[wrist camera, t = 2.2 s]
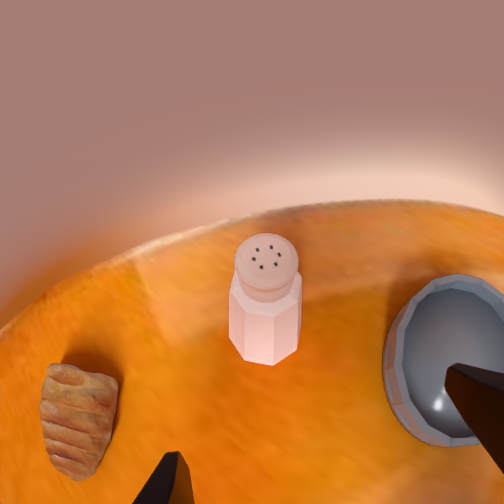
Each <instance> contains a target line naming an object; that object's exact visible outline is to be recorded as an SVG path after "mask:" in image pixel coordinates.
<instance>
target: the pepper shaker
mask: <svg viewBox="0 0 504 504" xmlns="http://www.w3.org/2000/svg"><path fill="white" fill-rule="evenodd" d="M298 264H299V259H298V253H297V251H296V249H295V247H294V246H293V245H292V244H291V242H290V241H288V240H287V239H285V238H284V237H282V236H279V235H277V234H271V233H260V234H257V235H253V236H251V237H249V238H248V239H246V240H245V241H244V242H243V243H241V244H240V246H239V247H238V249H237V251H236V254H235V257H234V265H235V272H234V275H233V279H232V283H231V287H230V293H229V338H230V340H231V341H232V343H233V344H234V346H235V347H236V349H237V350H238V352H239V353H240V355H241V356H242V358H243V359H244V360H245V361H250V362H255V363H261V364H266V365H271V366H273V365H275V364H276V363H278V362H279V361H281V360H282V359H284V358H285V357H287V356H288V355H290V354H291V353H293V352H294V351H296V350H297V345H298V339H299V334H300V327H301V313H302V276H301V275H300V274H299V272H298V271H297V269H298Z"/></svg>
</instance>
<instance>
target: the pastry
mask: <svg viewBox="0 0 504 504" xmlns="http://www.w3.org/2000/svg"><path fill="white" fill-rule="evenodd" d="M117 394H118V382H117V381H116V380H115V378H113V377H111V376H108V375H105V374H101V373H91V372H85V371H82V370H80V369H79V368H78V367H76V366H73V365H69V364H58V363H52V364H50V365H49V366H48V367H47V375H46V378H45V380H44V383H43V387H42V391H41V402H40V405H39V412H40V420H41V425H42V428H43V436H44V441H45V444H46V450H47V452H48V454H49V457H50V461H51V463H52V464H53V465H54V466H55V467H56V469H57V470H59V471H60V472H62V473H63V474H65V475H67V476H69V477H70V478H71V479H72V480H75V481H81V480H83V479H85V478H87V477H90V476H92V475H93V474H94V473H95V471H96V468H97V466H98V465H99V461H100V459H101V458H102V457H103V456H104V452H105V449H106V447H107V446H108V444H109V443H110V442H111V433H112V426H113V420H114V416H115V413H116V406H117Z"/></svg>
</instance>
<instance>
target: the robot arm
mask: <svg viewBox="0 0 504 504" xmlns="http://www.w3.org/2000/svg"><path fill="white" fill-rule="evenodd" d="M444 388H445V391H446V393H447V394H448V396H449V397H450V399H451V401H452V402H453V404H454V405H455V407H456V409H457V410H458V412H459V414H460V415H461V417H462V418H463V420H464V421H465V423H466V424H467V425H468V427H469V428H470V429H471V431H472V432H473V433H474V435H475V436H476V437H477V439H478V440H479V441H480V443H481V444H482V445H483V446H484V448H485V449H486V451H487V452H488V453H489V455H490V456H491V457H492V459H493V460H494V461H495V463H496V464H497V466H498V467H499V468H500V470H501V471H502V472H503V474H504V373H500V372H496V371H491V370H487V369H483V368H479V367H475V366H470V365H466V364H462V363H455V364H453V365H451V366H449V367H448V368H447V371H446V377H445V382H444ZM132 504H194V498H193V491H192V484H191V477H190V471H189V467H188V465H187V463H186V462H185V460H184V458H183V456H182V455H181V453H180V452H178V451H174V452H167V453H165V455H164V456H163V458H162V459H161V461H160V462H159V464H158V465H157V467H156V468H155V470H154V472H153V473H152V475H151V476H150V478H149V479H148V481H147V482H146V484H145V485H144V487H143V488H142V490H141V491H140V493H139V494H138V496H137V497H136V499H135V500H134V502H133V503H132Z"/></svg>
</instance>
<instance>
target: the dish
mask: <svg viewBox="0 0 504 504" xmlns="http://www.w3.org/2000/svg"><path fill="white" fill-rule="evenodd" d="M455 363H462V364H466V365H470V366H475V367H479V368H483V369H487V370H491V371H496V372H500V373H504V295H503V294H502V293H501V292H499V291H498V290H497V289H495V288H494V287H492V286H491V285H490V284H488V283H487V282H485V281H484V280H483V279H480V278H476V277H471V276H467V275H462V274H458V273H457V274H453V275H449V276H445V277H441V278H437V279H433V280H432V281H431V282H430V283H429V284H427V285H426V286H425V287H424V288H423V289H422V290H421V291H419V292H418V293H417V294H416V295H415V296H413V297H412V298H411V299H410V300H409V301H408V302H407V303H406V304H405V305H404V306H403V307H402V309H401V310H400V311H399V313H398V314H397V315H396V317H395V319H394V321H393V322H392V324H391V327H390V329H389V331H388V334H387V337H386V340H385V344H384V350H383V356H382V378H383V384H384V390H385V393H386V397H387V400H388V403H389V405H390V407H391V410H392V412H393V413H394V415H395V417H396V418H397V420H398V421H399V423H400V424H401V425H402V426H403V427H404V429H405V430H406V431H408V432H409V433H410V434H411V435H412V436H414V437H415V438H417V439H418V440H420V441H422V442H424V443H427V444H429V445H433V446H438V447H458V446H467V445H478V444H480V441H479V440H478V439H477V437H476V436H475V435H474V433H473V432H472V431H471V429H470V428H469V427H468V425H467V424H466V423H465V421H464V420H463V418H462V417H461V415H460V414H459V412H458V410H457V409H456V407H455V405H454V404H453V402H452V401H451V399H450V397H449V396H448V394H447V393H446V391H445V388H444V382H445V377H446V371H447V368H448V367H449V366H451V365H453V364H455Z"/></svg>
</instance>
